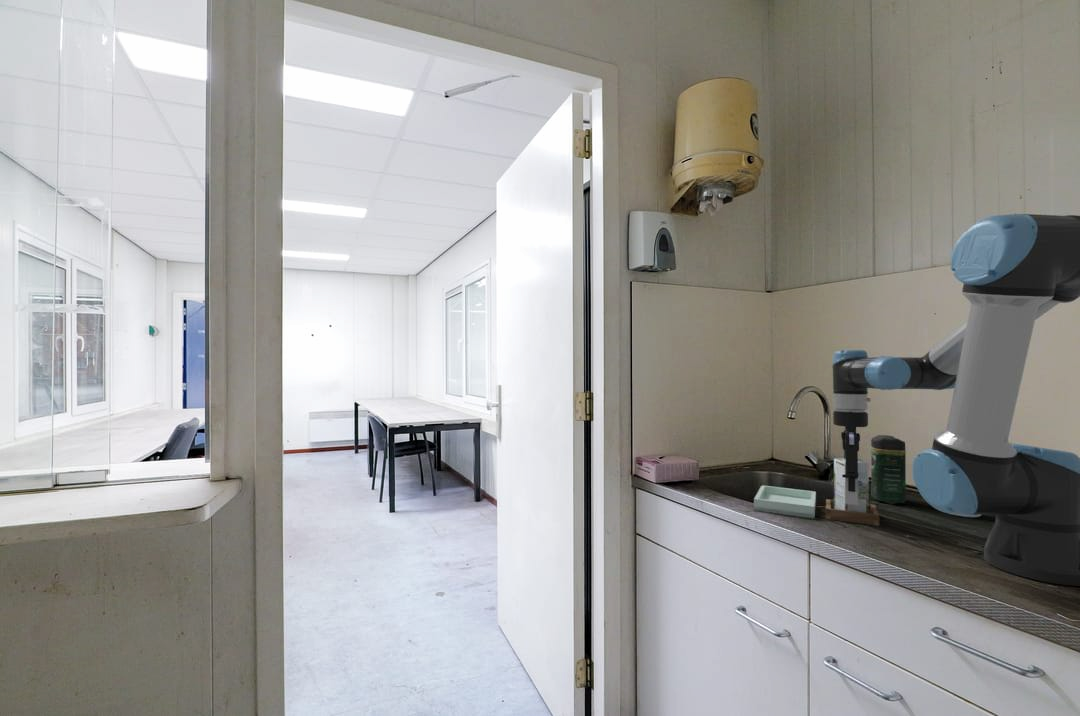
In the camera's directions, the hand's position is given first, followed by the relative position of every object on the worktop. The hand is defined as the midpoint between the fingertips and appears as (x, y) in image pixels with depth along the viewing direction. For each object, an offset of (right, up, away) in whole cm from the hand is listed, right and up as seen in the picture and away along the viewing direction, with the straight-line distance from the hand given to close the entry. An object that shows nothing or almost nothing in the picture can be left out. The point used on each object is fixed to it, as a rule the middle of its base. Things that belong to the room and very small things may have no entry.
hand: (850, 500), depth 125 cm
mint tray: (-12, -4, +9) cm, 16 cm away
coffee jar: (+21, -5, +16) cm, 27 cm away
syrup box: (0, -4, 0) cm, 4 cm away
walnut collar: (0, -4, 0) cm, 4 cm away
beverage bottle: (+31, -5, +4) cm, 32 cm away
